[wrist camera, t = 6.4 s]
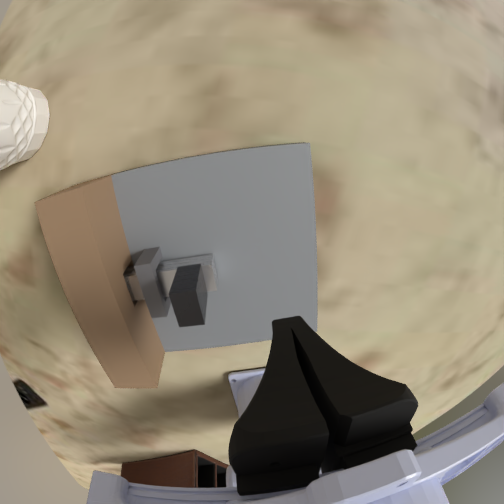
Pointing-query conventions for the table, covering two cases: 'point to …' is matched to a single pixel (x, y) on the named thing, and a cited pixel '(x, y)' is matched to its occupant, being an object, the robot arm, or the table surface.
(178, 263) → the bolt
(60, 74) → the table surface
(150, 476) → the letter holder
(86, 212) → the door and jamb
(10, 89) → the white cup
